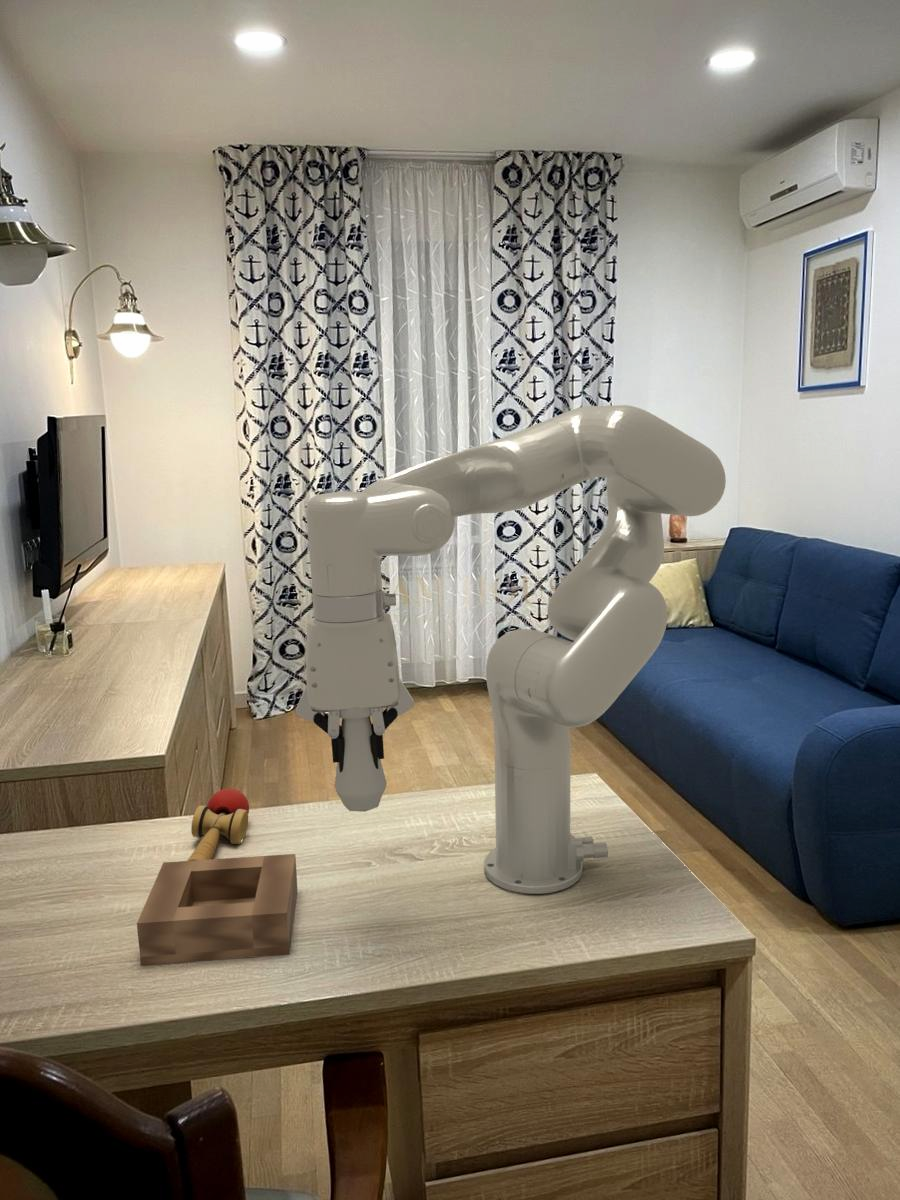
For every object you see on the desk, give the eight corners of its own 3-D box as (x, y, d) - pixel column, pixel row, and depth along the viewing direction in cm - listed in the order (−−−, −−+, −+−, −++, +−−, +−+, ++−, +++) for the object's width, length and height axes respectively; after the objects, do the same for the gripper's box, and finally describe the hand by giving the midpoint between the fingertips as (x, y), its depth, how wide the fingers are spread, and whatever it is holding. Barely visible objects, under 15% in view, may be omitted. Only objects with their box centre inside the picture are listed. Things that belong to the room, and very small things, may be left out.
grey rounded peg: (379, 816, 103) (372, 703, 100) (329, 814, 104) (321, 702, 101) (393, 794, 108) (386, 687, 106) (345, 792, 109) (338, 686, 107)
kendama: (233, 887, 121) (264, 811, 138) (218, 846, 119) (253, 774, 136) (176, 896, 122) (215, 819, 139) (161, 856, 120) (202, 783, 137)
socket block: (297, 890, 117) (295, 853, 116) (289, 954, 103) (286, 912, 102) (166, 899, 115) (163, 862, 114) (140, 965, 102) (136, 923, 101)
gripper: (421, 595, 106) (429, 749, 109) (275, 604, 104) (288, 759, 108) (426, 609, 98) (434, 773, 102) (269, 619, 97) (283, 785, 101)
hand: (359, 764), depth 105 cm, fingers closed on grey rounded peg, 3 cm apart
